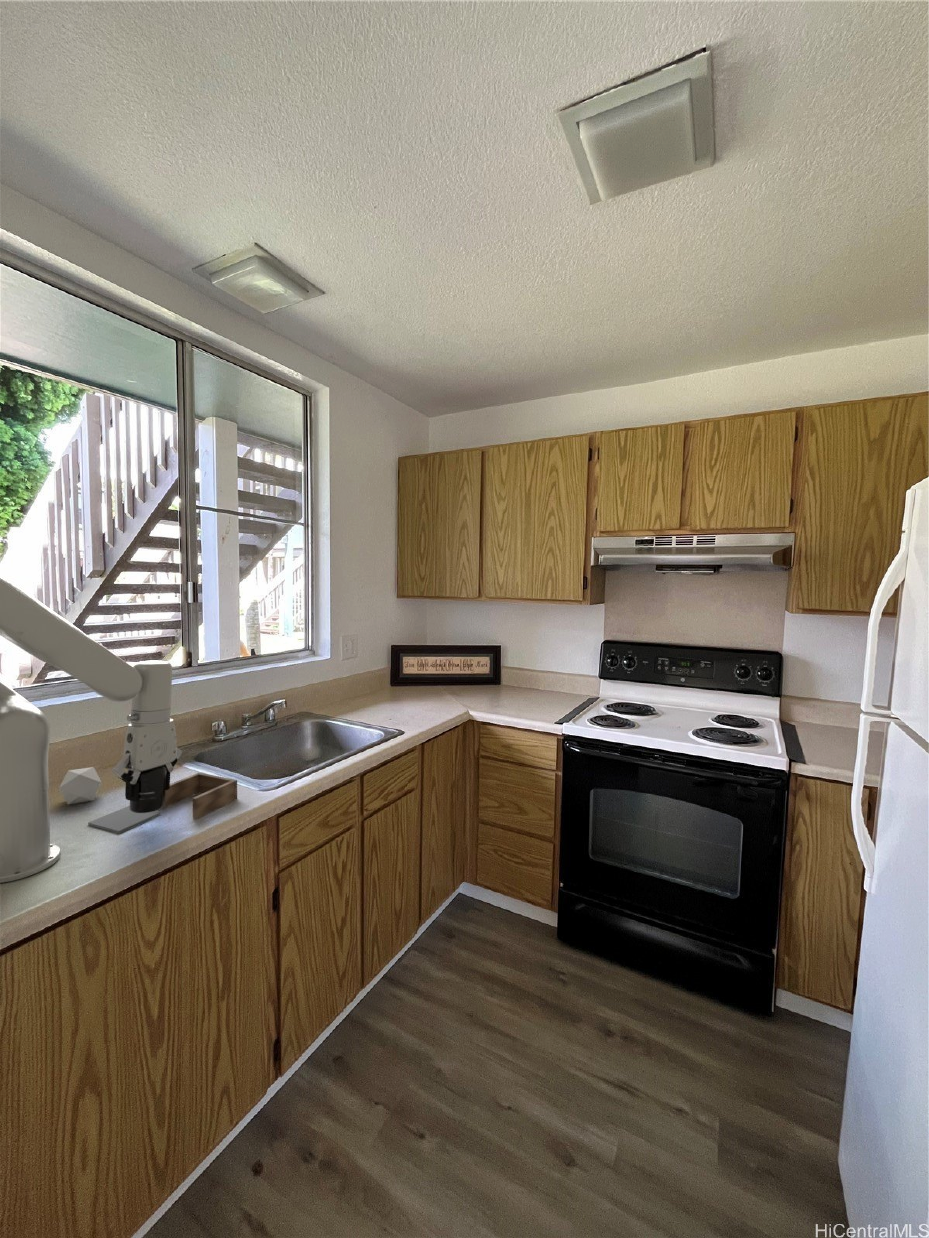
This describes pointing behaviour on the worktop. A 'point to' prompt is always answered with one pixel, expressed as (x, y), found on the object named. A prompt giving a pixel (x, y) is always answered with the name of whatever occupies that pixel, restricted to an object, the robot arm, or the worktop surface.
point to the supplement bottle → (150, 790)
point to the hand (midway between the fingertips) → (148, 793)
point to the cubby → (210, 786)
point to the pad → (122, 820)
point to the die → (80, 785)
